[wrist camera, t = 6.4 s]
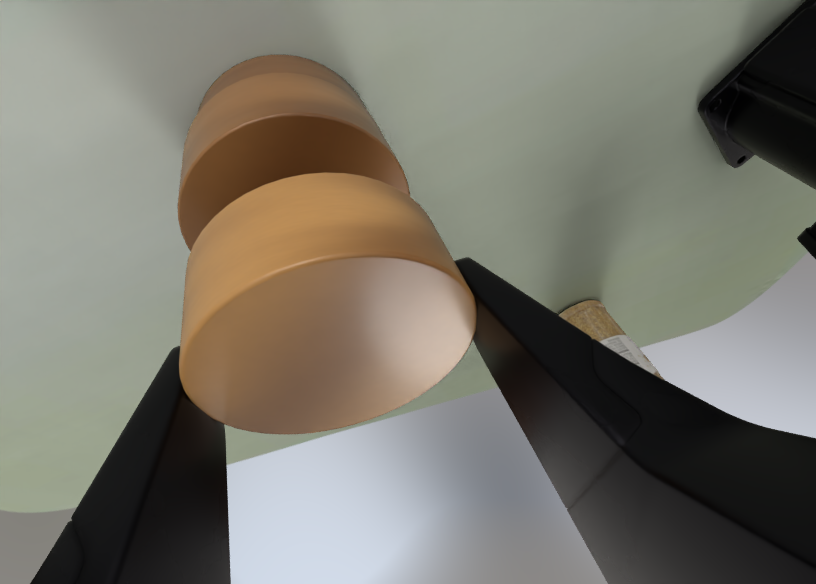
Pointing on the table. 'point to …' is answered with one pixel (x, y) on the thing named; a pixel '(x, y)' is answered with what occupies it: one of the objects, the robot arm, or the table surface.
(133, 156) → the table surface
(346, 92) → the chip pile
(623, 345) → the sprinkles bottle
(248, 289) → the oak chip
